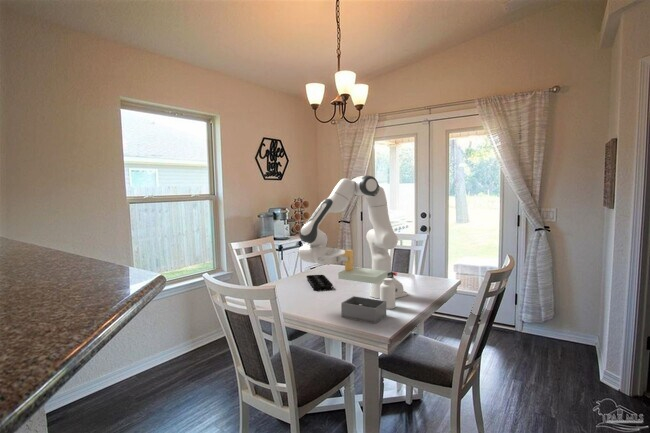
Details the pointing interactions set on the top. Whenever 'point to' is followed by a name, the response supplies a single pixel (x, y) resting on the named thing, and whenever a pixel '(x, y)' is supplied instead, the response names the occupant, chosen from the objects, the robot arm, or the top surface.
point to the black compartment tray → (319, 282)
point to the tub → (363, 309)
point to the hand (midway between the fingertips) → (350, 258)
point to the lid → (360, 272)
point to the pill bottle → (388, 293)
